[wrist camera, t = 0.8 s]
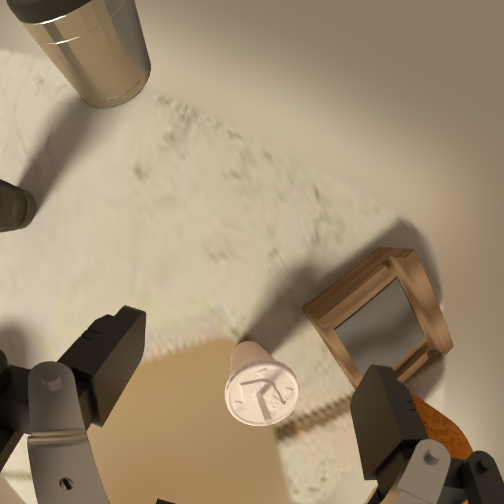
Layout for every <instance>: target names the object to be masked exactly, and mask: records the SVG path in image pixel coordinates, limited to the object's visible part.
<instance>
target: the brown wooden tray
mask: <svg viewBox="0 0 504 504" xmlns="http://www.w3.org/2000/svg"><path fill="white" fill-rule="evenodd" d="M302 309H303V311H304V312H305V314H306V315H307V317H308V318H309V320H310V321H311V323H312V324H313V326H314V327H315V329H316V330H317V332H318V333H319V335H320V336H321V338H322V340H323V341H324V343H325V344H326V346H327V347H328V349H329V350H330V352H331V353H332V355H333V356H334V358H335V359H336V361H337V363H338V364H339V366H340V367H341V369H342V370H343V372H344V373H345V375H346V376H347V378H348V380H349V381H350V383H351V384H352V386H353V387H354V389H355V390H356V389H357V387H358V385H359V383H360V382H361V380H362V378H363V376H364V375H365V373H366V371H367V369H368V368H369V366H370V365H372V364H374V365H381V366H389V367H392V368H393V370H394V373H395V375H396V377H397V380H398V381H401V383H403V382H404V381H405V380H407V379H408V378H409V377H410V376H411V375H412V374H413V373H414V372H415V371H416V370H417V369H418V368H419V367H421V366H422V365H423V364H424V363H425V362H426V361H427V360H428V359H429V358H428V355H427V353H426V352H427V351H428V350H429V349H430V348H433V349H435V350H437V351H439V352H441V353H444V354H447V353H448V352H449V351H450V350H451V349H452V347H453V343H452V340H451V337H450V334H449V331H448V328H447V325H446V323H445V320H444V317H443V315H442V312H441V309H440V307H439V304H438V302H437V299H436V297H435V294H434V292H433V289H432V287H431V285H430V282H429V280H428V278H427V275H426V273H425V271H424V268H423V266H422V264H421V262H420V260H419V257H418V255H417V253H416V251H415V250H412V249H397V248H381V247H380V248H379V249H377V250H376V251H375V252H374V253H373V254H371V255H370V256H369V257H368V258H366V259H365V260H364V261H363V262H361V263H360V264H359V265H358V266H356V267H355V268H354V269H353V270H351V271H350V272H349V273H348V274H346V275H345V276H344V277H343V278H341V279H340V280H339V281H337V282H336V283H335V284H333V285H332V286H331V287H330V288H328V289H327V290H326V291H324V292H323V293H322V294H320V295H319V296H318V297H316V298H315V299H314V300H312V301H311V302H310V303H308V304H307V305H306V306H304V307H303V308H302Z"/></svg>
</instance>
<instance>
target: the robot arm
mask: <svg viewBox="0 0 504 504" xmlns="http://www.w3.org/2000/svg"><path fill="white" fill-rule="evenodd" d="M7 4H8V6H9V7H10V9H11V10H12V12H13V13H14V14H15V15H16V17H17V18H18V19H19V20H20V22H21V23H22V24H23V26H24V27H25V28H26V29H27V31H28V32H29V33H30V35H31V36H32V37H33V38H34V39H35V41H36V42H37V43H38V44H39V45H40V47H41V48H42V49H43V51H44V52H45V53H46V54H47V55H48V57H49V58H50V59H51V60H52V62H53V63H54V64H55V65H56V67H57V68H58V69H59V70H60V71H61V73H62V74H63V75H64V76H65V78H66V79H67V80H68V81H69V82H70V84H71V85H72V86H73V87H74V89H75V90H76V91H77V92H78V93H79V95H80V96H81V97H82V98H83V99H84V100H85V101H86V102H87V103H88V104H90V105H92V106H94V107H98V108H109V107H115V106H118V105H120V104H123V103H125V102H127V101H129V100H130V99H132V98H133V97H134V96H135V95H137V94H138V93H139V92H140V91H141V90H142V88H143V87H144V85H145V84H146V83H147V80H148V78H149V76H150V70H151V64H150V59H149V56H148V52H147V48H146V44H145V40H144V37H143V32H142V29H141V25H140V21H139V17H138V13H137V9H136V5H135V1H134V0H7ZM145 327H146V313H145V311H142V310H138V309H135V308H132V307H129V306H126V305H125V306H123V307H122V308H121V309H120V310H119V312H118V313H117V314H116V315H115V316H111V315H109V314H107V315H105V316H103V317H101V318H99V319H96V320H95V321H94V322H93V323H92V324H91V325H90V326H89V327H88V330H86V331H85V332H84V333H83V334H82V335H81V337H79V338H78V339H77V340H76V341H75V342H74V343H73V344H72V346H71V347H70V348H69V349H68V350H67V351H66V352H65V353H64V354H63V355H62V356H61V358H60V359H59V360H58V361H57V362H54V361H48V362H42V363H40V364H38V365H36V366H34V367H33V368H32V369H31V370H30V369H25V368H21V367H17V366H13V365H9V364H8V361H7V358H6V356H5V354H4V353H3V352H2V351H1V350H0V472H1V470H2V469H3V467H4V465H5V464H6V462H7V460H8V458H9V457H10V455H11V453H12V452H13V450H14V448H15V447H16V445H17V444H18V442H19V440H20V439H21V437H22V436H23V434H24V433H26V434H29V435H31V436H28V438H27V446H28V454H29V461H30V467H31V473H32V478H33V484H34V488H35V493H36V497H37V502H38V504H110V503H109V500H108V498H107V495H106V492H105V490H104V488H103V484H102V481H101V479H100V476H99V473H98V470H97V467H96V464H95V461H94V457H93V454H92V450H91V447H90V443H89V440H88V436H87V432H86V431H87V430H88V428H89V426H90V424H91V423H93V424H95V425H97V426H100V427H102V426H103V425H104V423H105V421H106V419H107V418H108V416H109V414H110V413H111V410H112V409H113V407H114V406H115V404H116V402H117V400H118V399H119V397H120V395H121V394H122V392H123V390H124V388H125V387H126V385H127V383H128V382H129V380H130V378H131V377H132V375H133V373H134V372H135V370H136V368H137V367H138V365H139V363H140V361H141V359H142V356H143V352H144V345H145ZM350 410H351V415H352V419H353V424H354V429H355V434H356V439H357V443H358V448H359V454H360V459H361V464H362V469H363V475H364V480H377V482H378V485H377V486H376V487H375V488H374V489H373V490H372V492H371V494H370V495H369V497H368V498H367V500H366V501H365V503H364V504H463V503H465V502H466V501H467V500H468V504H504V482H503V480H502V477H501V475H500V472H499V470H498V467H497V465H496V463H495V461H494V459H493V458H492V457H491V456H490V455H489V454H487V453H486V452H483V451H475V452H473V453H472V454H471V455H470V456H469V457H468V458H467V459H466V460H463V459H458V458H453V457H450V454H449V452H448V450H447V449H446V448H445V447H444V446H443V445H442V444H441V443H439V442H437V441H435V440H431V439H429V437H428V435H427V432H426V430H425V427H424V425H423V422H422V420H421V418H420V415H419V413H418V411H417V408H416V406H415V404H414V403H413V399H412V397H411V394H410V392H409V390H408V389H407V388H406V387H405V386H404V385H403V384H402V383H401V381H398V380H397V377H396V375H395V373H394V370H393V368H392V367H389V366H381V365H374V364H372V365H370V366H369V368H368V369H367V371H366V373H365V375H364V376H363V378H362V380H361V382H360V383H359V385H358V387H357V389H356V390H355V392H354V394H353V396H352V399H351V404H350ZM156 504H174V503H171V502H167V501H164V500H160V499H157V502H156Z"/></svg>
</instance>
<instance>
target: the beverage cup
mask: <svg viewBox="0 0 504 504" xmlns="http://www.w3.org/2000/svg"><path fill="white" fill-rule="evenodd" d="M34 213H35V202H34V199H33V197H32V196H31V195H30V193H28V192H26V191H24V190H23V189H21V188H19V187H17V186H14V185H12V184H10V183H8V182H6V181H3V180H1V179H0V232H7V231H14V230H17V229H22V228H25V227H27V226H28V225H29V224H30V222H31V221H32V219H33V217H34Z"/></svg>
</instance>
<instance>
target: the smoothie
mask: <svg viewBox="0 0 504 504" xmlns="http://www.w3.org/2000/svg"><path fill="white" fill-rule="evenodd" d="M299 396H300V387H299V383H298V380H297V379H296V376H295V374H294V373H293V371H292V370H291V369H290V368H289V367H288V366H286V365H285V364H283V363H281V362H279V361H276V360H275V359H274V358H273V357H272V356H271V355H270V354H269V353H268V352H267V351H266V350H264V349H263V348H262V347H261V346H260V345H259V344H258V343H256V342H253V341H244V342H241V343H239V344H238V345H237V346H235V348H234V349H233V351H232V355H231V366H230V378H229V380H228V382H227V384H226V388H225V400H226V403H227V406H228V409H229V411H230V412H231V414H232V415H233V416H234V417H235V418H236V419H238V420H239V421H241V422H243V423H245V424H248V425H253V426H265V425H270V424H274V423H276V422H279V421H280V420H282V419H284V418H285V417H286V416H288V415H289V414H290V413H291V412H292V411H293V409H294V408H295V406H296V405H297V402H298V400H299Z"/></svg>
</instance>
